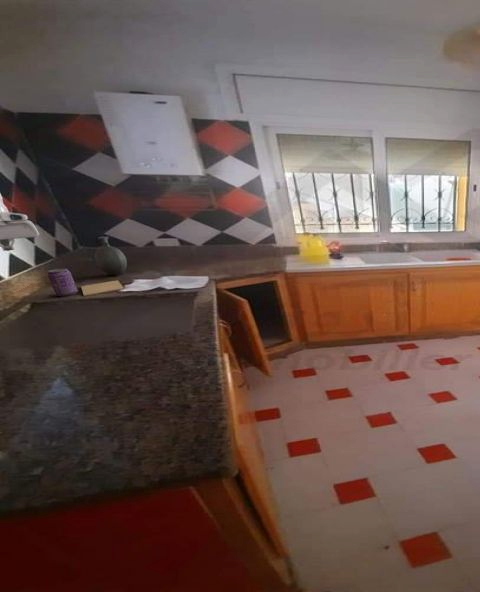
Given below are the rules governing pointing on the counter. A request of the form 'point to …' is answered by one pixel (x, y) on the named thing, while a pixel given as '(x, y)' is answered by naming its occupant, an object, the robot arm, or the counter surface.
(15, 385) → the counter surface
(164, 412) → the counter surface
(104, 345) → the counter surface
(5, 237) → the robot arm
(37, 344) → the counter surface
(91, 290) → the mat
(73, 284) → the beverage can
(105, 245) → the flask
